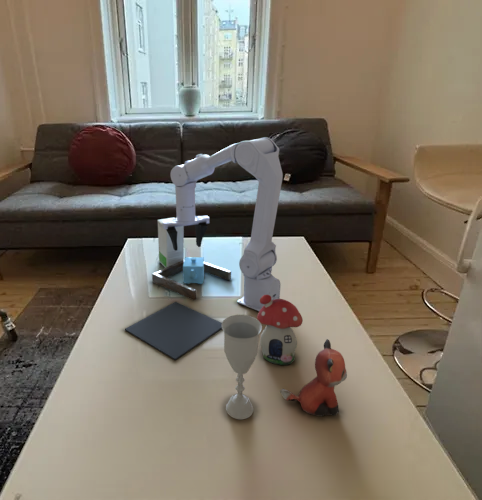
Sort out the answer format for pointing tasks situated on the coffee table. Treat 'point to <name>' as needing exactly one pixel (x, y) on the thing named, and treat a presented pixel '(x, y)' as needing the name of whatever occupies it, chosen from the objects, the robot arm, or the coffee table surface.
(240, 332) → the chalice
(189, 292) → the brown u-shaped frame
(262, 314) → the decorative ornament
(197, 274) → the teapot
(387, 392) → the coffee table surface
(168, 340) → the placemat
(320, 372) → the stuffed fox
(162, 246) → the cosmetic box
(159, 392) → the coffee table surface
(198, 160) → the robot arm
